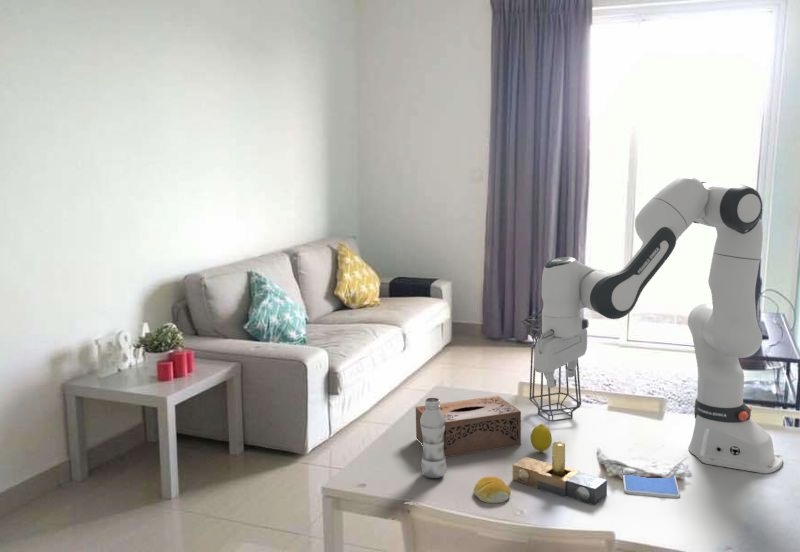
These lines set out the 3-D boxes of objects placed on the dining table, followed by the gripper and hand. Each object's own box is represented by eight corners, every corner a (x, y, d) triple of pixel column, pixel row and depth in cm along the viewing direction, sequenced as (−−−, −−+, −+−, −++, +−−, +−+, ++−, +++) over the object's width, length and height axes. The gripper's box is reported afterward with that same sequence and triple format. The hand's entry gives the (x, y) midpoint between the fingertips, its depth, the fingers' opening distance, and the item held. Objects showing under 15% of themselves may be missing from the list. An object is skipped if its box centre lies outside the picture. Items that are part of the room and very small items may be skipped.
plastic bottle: (426, 483, 181) (424, 405, 178) (418, 472, 188) (416, 397, 184) (450, 479, 183) (449, 402, 180) (441, 468, 189) (440, 394, 186)
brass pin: (567, 486, 177) (567, 443, 175) (560, 491, 175) (561, 447, 173) (555, 483, 179) (556, 440, 177) (549, 488, 177) (550, 444, 175)
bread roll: (500, 485, 179) (500, 469, 179) (515, 501, 171) (515, 485, 170) (468, 489, 177) (468, 474, 177) (481, 506, 169) (481, 490, 168)
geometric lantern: (590, 422, 219) (589, 308, 212) (541, 429, 215) (539, 313, 209) (566, 404, 234) (565, 297, 228) (520, 410, 231) (518, 302, 224)
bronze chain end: (579, 486, 177) (579, 470, 176) (565, 497, 172) (565, 481, 171) (526, 470, 186) (526, 455, 186) (511, 480, 181) (511, 465, 180)
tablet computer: (621, 462, 191) (621, 457, 191) (672, 466, 188) (672, 461, 188) (624, 495, 173) (624, 490, 173) (680, 500, 170) (680, 495, 169)
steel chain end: (607, 494, 172) (608, 478, 172) (593, 506, 167) (594, 489, 166) (552, 478, 182) (552, 463, 181) (537, 488, 176) (537, 473, 176)
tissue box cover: (433, 459, 196) (433, 423, 194) (416, 440, 209) (415, 406, 208) (520, 445, 203) (520, 411, 202) (498, 428, 217) (498, 395, 215)
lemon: (551, 457, 194) (551, 428, 193) (530, 455, 196) (530, 427, 194) (551, 448, 200) (551, 421, 198) (531, 447, 201) (531, 420, 200)
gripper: (551, 336, 164) (551, 395, 166) (591, 319, 180) (591, 373, 182) (526, 333, 168) (527, 391, 170) (568, 316, 184) (568, 369, 186)
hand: (561, 381), depth 176 cm, fingers open, 8 cm apart
